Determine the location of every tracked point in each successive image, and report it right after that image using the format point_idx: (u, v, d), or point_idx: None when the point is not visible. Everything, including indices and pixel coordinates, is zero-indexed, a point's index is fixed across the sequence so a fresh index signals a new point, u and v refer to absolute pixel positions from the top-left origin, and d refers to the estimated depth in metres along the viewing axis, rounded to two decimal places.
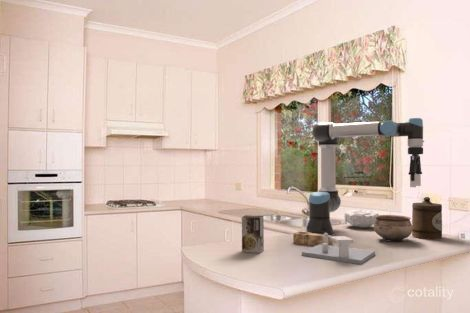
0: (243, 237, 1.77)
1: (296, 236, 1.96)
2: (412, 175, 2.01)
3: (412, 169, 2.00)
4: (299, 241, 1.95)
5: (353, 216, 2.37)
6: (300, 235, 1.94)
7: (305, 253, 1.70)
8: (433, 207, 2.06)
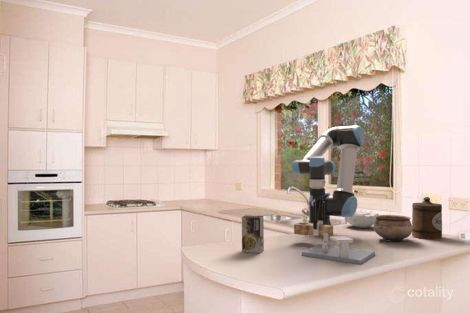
0: (243, 237, 1.77)
1: (297, 227, 1.96)
2: (314, 223, 1.90)
3: (313, 217, 1.88)
4: (300, 231, 1.95)
5: (353, 216, 2.37)
6: (301, 226, 1.95)
7: (305, 253, 1.70)
8: (433, 207, 2.06)
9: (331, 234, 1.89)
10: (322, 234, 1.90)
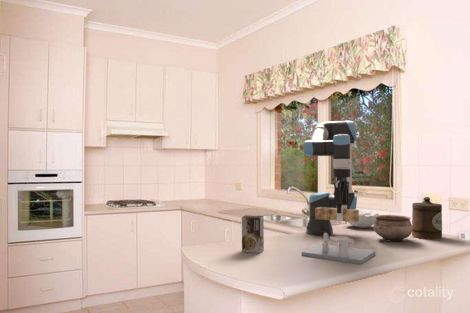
0: (243, 237, 1.77)
1: (318, 211, 1.79)
2: (338, 206, 1.73)
3: (337, 200, 1.72)
4: (321, 216, 1.78)
5: None
6: (322, 210, 1.78)
7: (305, 253, 1.70)
8: (433, 207, 2.06)
9: (357, 219, 1.72)
10: (347, 219, 1.73)
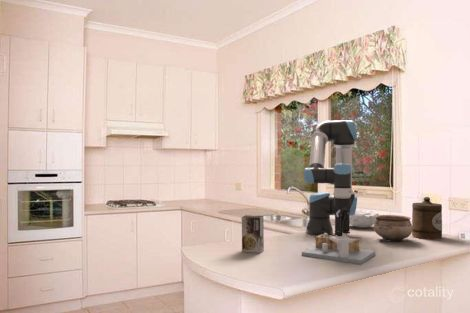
0: (243, 237, 1.77)
1: (319, 240, 1.79)
2: None
3: (338, 230, 1.71)
4: None
5: (353, 216, 2.37)
6: (323, 239, 1.78)
7: (305, 253, 1.70)
8: (433, 207, 2.06)
9: (357, 248, 1.72)
10: None
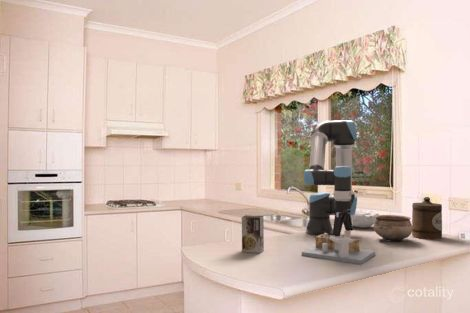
0: (243, 237, 1.77)
1: (319, 240, 1.79)
2: None
3: (336, 229, 1.69)
4: None
5: (353, 216, 2.37)
6: (323, 239, 1.78)
7: (305, 253, 1.70)
8: (433, 207, 2.06)
9: (357, 248, 1.72)
10: None
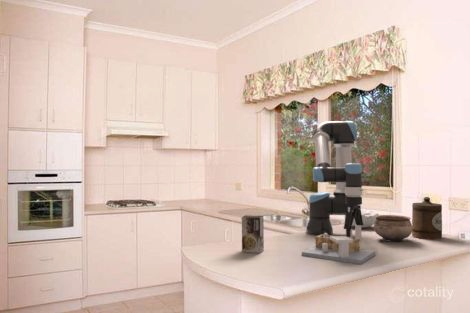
0: (243, 237, 1.77)
1: (319, 240, 1.79)
2: (347, 230, 1.76)
3: (347, 223, 1.75)
4: None
5: None
6: (323, 239, 1.78)
7: (305, 253, 1.70)
8: (433, 207, 2.06)
9: (357, 249, 1.72)
10: None
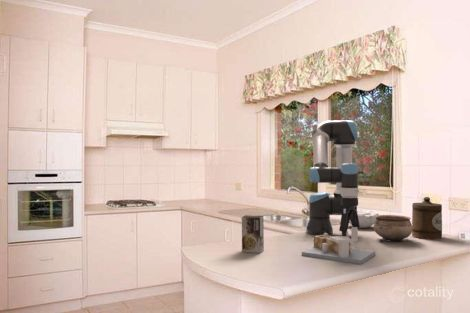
0: (243, 237, 1.77)
1: (315, 239, 1.80)
2: (343, 232, 1.71)
3: (343, 225, 1.70)
4: (318, 245, 1.79)
5: None
6: (318, 238, 1.78)
7: (305, 253, 1.70)
8: (433, 207, 2.06)
9: None
10: (336, 250, 1.69)
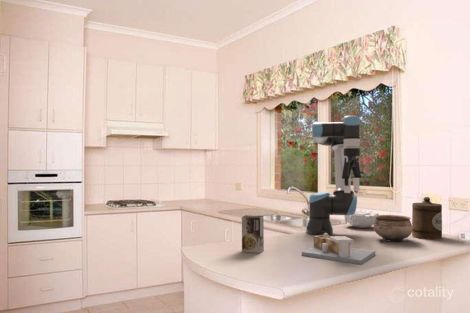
0: (243, 237, 1.77)
1: (315, 239, 1.80)
2: (346, 179, 1.80)
3: (345, 173, 1.79)
4: (318, 245, 1.79)
5: (353, 216, 2.37)
6: (318, 238, 1.78)
7: (305, 253, 1.70)
8: (433, 207, 2.06)
9: None
10: (335, 250, 1.69)
